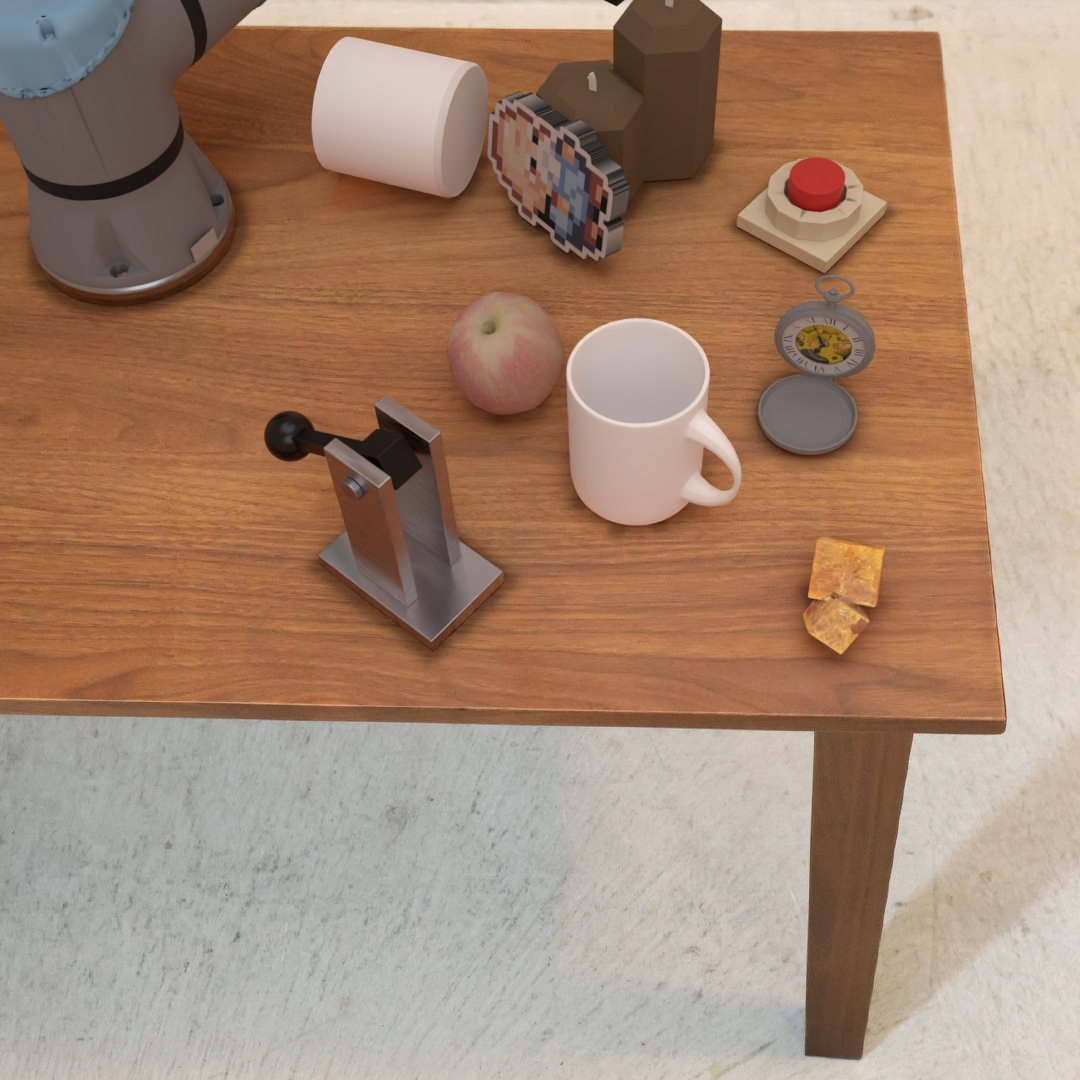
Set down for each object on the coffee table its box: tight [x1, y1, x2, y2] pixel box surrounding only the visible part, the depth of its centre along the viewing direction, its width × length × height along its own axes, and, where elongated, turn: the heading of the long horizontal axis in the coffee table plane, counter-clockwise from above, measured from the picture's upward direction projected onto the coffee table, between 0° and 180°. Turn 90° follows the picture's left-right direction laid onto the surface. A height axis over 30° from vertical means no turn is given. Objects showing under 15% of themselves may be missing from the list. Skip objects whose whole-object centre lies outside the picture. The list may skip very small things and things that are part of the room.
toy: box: [487, 90, 629, 262], centre depth 102 cm, size 14×2×10 cm, turn 39°
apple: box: [446, 291, 565, 416], centre depth 94 cm, size 8×8×8 cm
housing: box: [735, 157, 888, 274], centre depth 104 cm, size 8×8×3 cm
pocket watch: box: [757, 274, 877, 456], centre depth 91 cm, size 8×8×10 cm
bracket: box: [317, 394, 505, 652], centre depth 83 cm, size 10×7×14 cm, turn 49°
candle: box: [535, 0, 723, 207], centre depth 104 cm, size 14×14×15 cm
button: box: [788, 156, 845, 212], centre depth 102 cm, size 4×4×2 cm
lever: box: [263, 410, 423, 490], centre depth 83 cm, size 14×3×3 cm, turn 49°
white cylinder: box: [311, 36, 490, 199], centre depth 107 cm, size 13×10×10 cm
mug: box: [565, 317, 743, 526], centre depth 87 cm, size 9×12×11 cm
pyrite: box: [802, 535, 888, 655], centre depth 84 cm, size 5×7×4 cm
